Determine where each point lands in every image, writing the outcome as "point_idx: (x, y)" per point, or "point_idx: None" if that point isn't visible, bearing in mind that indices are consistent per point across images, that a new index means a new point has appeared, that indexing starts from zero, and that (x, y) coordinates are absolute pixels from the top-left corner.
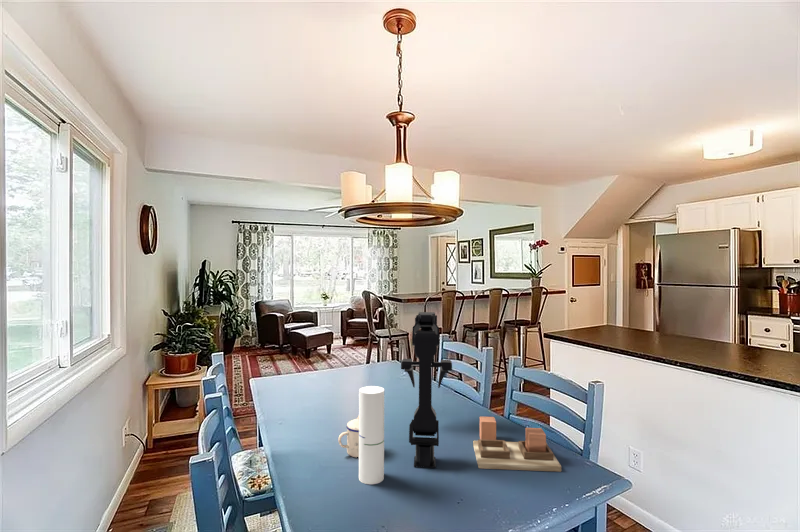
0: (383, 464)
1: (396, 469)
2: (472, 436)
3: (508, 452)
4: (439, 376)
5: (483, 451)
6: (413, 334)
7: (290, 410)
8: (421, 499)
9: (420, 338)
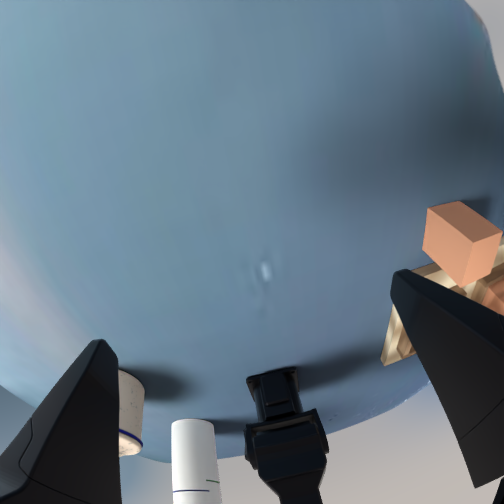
0: (215, 447)
1: (222, 408)
2: (409, 216)
3: None
4: (469, 408)
5: (406, 357)
6: None
7: None
8: None
9: None
